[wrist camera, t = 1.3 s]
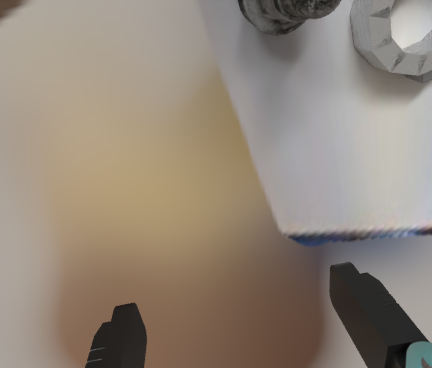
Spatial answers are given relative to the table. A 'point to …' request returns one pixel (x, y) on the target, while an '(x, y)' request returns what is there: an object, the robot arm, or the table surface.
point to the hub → (388, 42)
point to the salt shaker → (284, 13)
